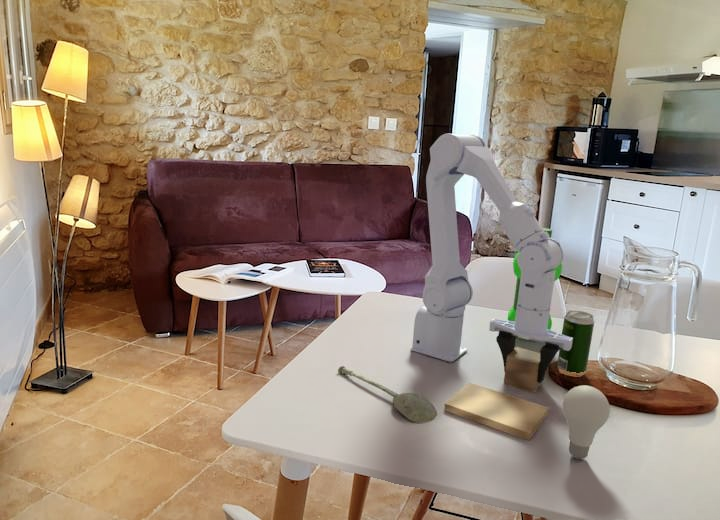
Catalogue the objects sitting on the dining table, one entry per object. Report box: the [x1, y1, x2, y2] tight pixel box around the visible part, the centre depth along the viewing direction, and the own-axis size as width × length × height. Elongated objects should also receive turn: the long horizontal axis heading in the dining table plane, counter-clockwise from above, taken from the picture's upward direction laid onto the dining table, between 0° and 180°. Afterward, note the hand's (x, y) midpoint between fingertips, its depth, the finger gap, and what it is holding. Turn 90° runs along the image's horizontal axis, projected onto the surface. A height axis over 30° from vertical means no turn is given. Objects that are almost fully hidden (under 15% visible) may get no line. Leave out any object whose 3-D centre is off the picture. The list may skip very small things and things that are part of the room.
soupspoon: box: [337, 365, 438, 424], centre depth 93 cm, size 22×3×7 cm
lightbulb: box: [562, 384, 611, 460], centre depth 77 cm, size 6×6×11 cm
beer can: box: [556, 309, 595, 373], centre depth 105 cm, size 5×5×12 cm
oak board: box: [443, 382, 549, 441], centre depth 90 cm, size 14×10×1 cm
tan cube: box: [503, 347, 542, 393], centre depth 100 cm, size 6×6×6 cm
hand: (523, 375), depth 101 cm, fingers closed on tan cube, 5 cm apart
